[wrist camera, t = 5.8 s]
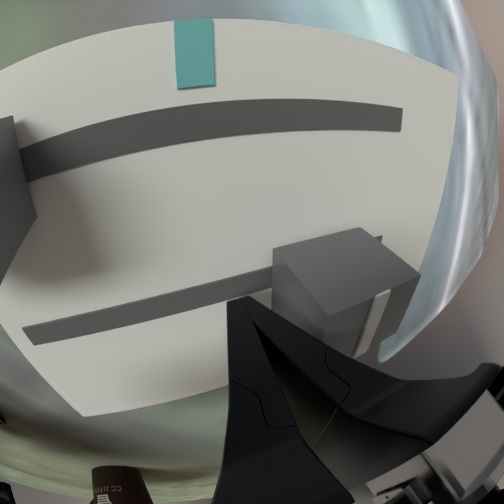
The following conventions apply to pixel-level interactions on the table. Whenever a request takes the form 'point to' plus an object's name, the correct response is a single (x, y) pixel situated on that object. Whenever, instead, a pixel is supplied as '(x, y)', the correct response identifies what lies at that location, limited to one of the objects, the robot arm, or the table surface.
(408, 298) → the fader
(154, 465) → the table surface
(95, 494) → the coffee mug
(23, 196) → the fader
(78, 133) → the console
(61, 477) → the table surface
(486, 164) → the table surface
